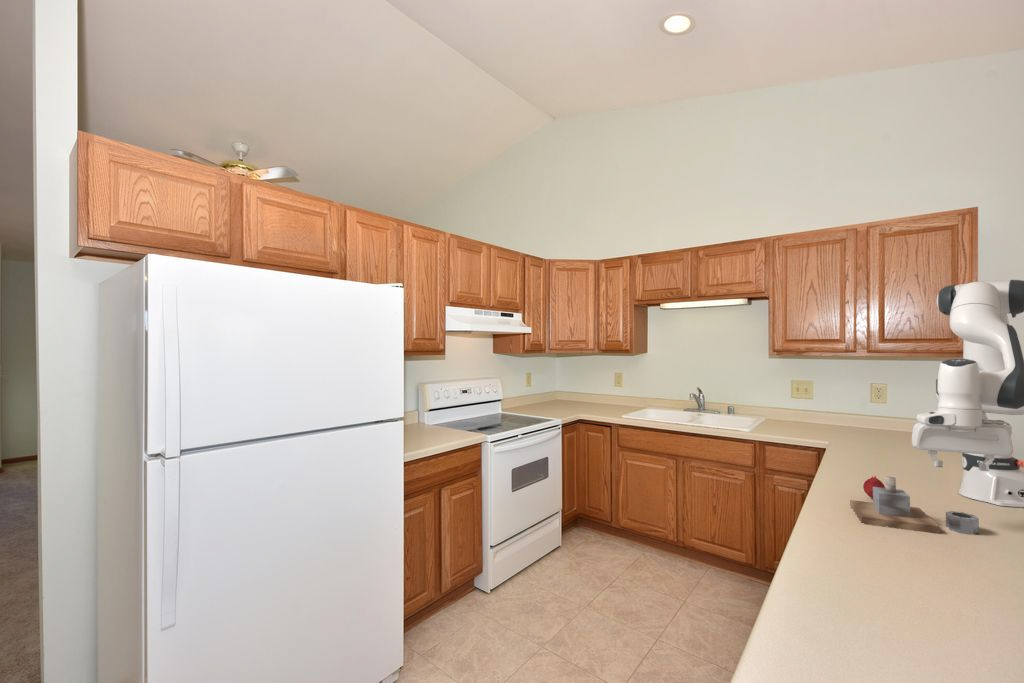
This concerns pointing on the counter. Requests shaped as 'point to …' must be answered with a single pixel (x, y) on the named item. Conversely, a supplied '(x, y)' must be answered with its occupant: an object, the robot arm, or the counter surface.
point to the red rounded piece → (872, 485)
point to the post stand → (893, 510)
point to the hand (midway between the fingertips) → (960, 468)
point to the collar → (962, 522)
